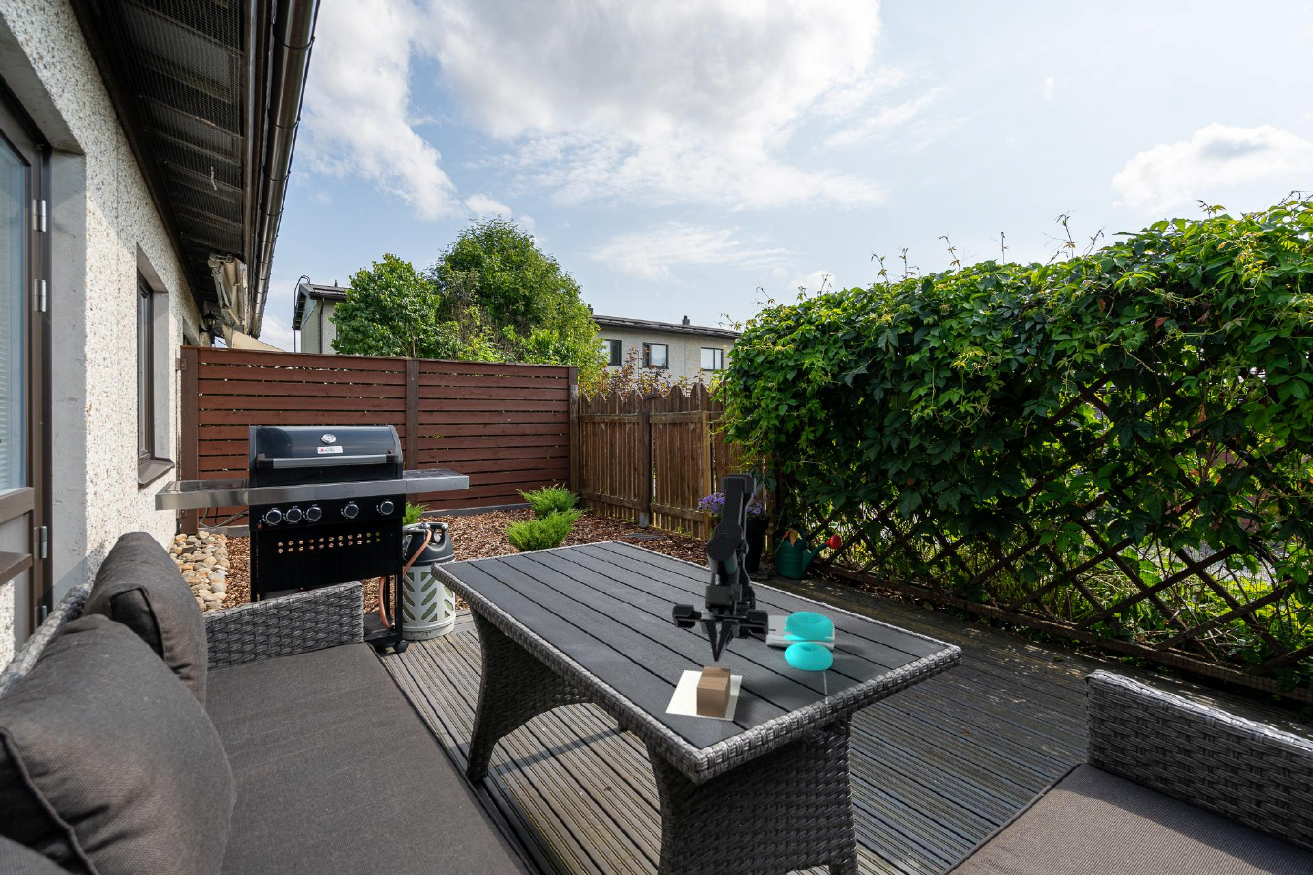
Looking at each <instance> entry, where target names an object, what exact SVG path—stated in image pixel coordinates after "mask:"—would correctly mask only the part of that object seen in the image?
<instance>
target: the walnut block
mask: <svg viewBox="0 0 1313 875" xmlns="http://www.w3.org/2000/svg"><path fill="white" fill-rule="evenodd" d="M731 670H732V669H731V668H727V667H726V668H725V667H717V666H716V667H715V666H707V665H706V666H703V669H702V671H701V672H702V674H701V677H700V679H699V682H698V685H697V691H696V715H702V716H710V717H719V718H725V714H726V710H727V706H728V702H729V698H730V676H731V675H732V673H731Z"/></svg>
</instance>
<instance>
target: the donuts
mask: <svg viewBox="0 0 1313 875" xmlns="http://www.w3.org/2000/svg"><path fill="white" fill-rule="evenodd" d="M787 616H788V617H787V619H786V622H785V625H786V628H787V629H788V631H789V632H790V633H791V634H793V635H795V636H797V637H800V638H803V639H810V640H816V639H822V638H825V637H827V636H829V635H830V634H831V633H832V631H833V623H834V622H833V621H832V620H831V619H830V618H829V617H827V616H826V615H824V614H821V613H817V612H811V611H799V612H794V613H791V614H790V615H787ZM832 622H833V623H832ZM784 657H785V660H786V662H787V663H788V664H789V666H792V667H794V668H796V669H799V670H804V671H810V672H811V671H812V672H813V671H815V672H816V671H825V670H827V669H829V668H830V667H831V666H832V665H833V662H834V658H833V654H832V653H831V651H830V649H827V648H825V647H824V646H822V645H819V644H816V643H811V642H799V643H795V644H793V645H791V646H789V647H788V648H787V647H786V650H785V653H784Z"/></svg>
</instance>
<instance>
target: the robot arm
mask: <svg viewBox="0 0 1313 875" xmlns="http://www.w3.org/2000/svg"><path fill="white" fill-rule="evenodd" d="M756 489H757V479H756V477H754V478H753V477H752V473H741V472H740V473H735V472H734V473H733V472H732V473H730V472H728V473H726V476H724V477H720V492H721V493H722V492H723V497H724V498H723V508H722V514H721V520H720V523H718V525H716V526H715V527H714V529H713V530H714V531H713V534H712V535H713V536H712V537H710V539H709V541H708V543H707V545H706V555H707V560H708V566H709V569H710V571H711V575H710V583H709V585H705V595H704V596H705V597H704V602H705V603H704V608H705V610H706V611H705V610H703V611H695V607H694V605H693V604H684V603H676V604H675V605H674V606H673V607H672V611H671V612H672V613H671V617H672V620H673V623H674V626H675V628H677V629H685V630H687V629H688V630H691V629H693V628H694V627H696V623H699V624H700V625H699V626H700V629H701V632H702V634H703V635H707V637H708V639H709V642H710V647H711V652H712V658H713V661H714V663H720V660H721V659H722V657H723V656H724V653H725V651H726V650H727V648H728V647H729V646H728V645H729V644H730V643H731V642H732V641H733V639H734V638H740V639H745V638H746V637H747V636H748V635H749V634H750V633H751V634H752V635H755V636H765V637H766V635H768V634H769V618H768V615H769V613H768V611H767V610H765V609H757V608H756V606H757V604H756V603H757V600H756V598H757V597H756V592H755V590H754V588H753V585H751V578H750V577H749V575H748V573H747V571H746V569H745V563H746V562H745V561H746V560H745V558H746V555H747V554H748V552H749V550H750V548H749V546H750V545H749V543H748V542H747V540H746V531H747V529H746V528H747V509H748V508H749V506H750V505H751V503H752V502H753V500H754V493H756V492H757V490H756ZM717 624H719V625H721V628H720V630H719V631H718V630H717ZM718 634H719V635H720V636H719V640H718Z"/></svg>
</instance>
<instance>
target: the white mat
mask: <svg viewBox="0 0 1313 875" xmlns="http://www.w3.org/2000/svg"><path fill="white" fill-rule="evenodd" d="M701 674H702V671H697V670H686V669H684V671H683V673H682V674H681V676H680V679H679V682H678V684H677V686H676V688H675V689H674V691H673V692H674V693H673V695H672V697H671V699H670V702H669V705H668V706H667V708H666V710H665V714H670V715H671V714H672V715H679V716H688V717H695V718H705V719H713V720H721V721H730V722H733V721H734V716H735V713H736V712H735V711H736V706H737V703H738V702H737V701H738V699H739V694H740V688H741V684H742V680H743V675H736V674H731V676H730V698H729V702H728V706H727V710H726V714H725V718H719V717H710V716H702V715H696V691H697V685H698V682H699V679H700V677H701Z"/></svg>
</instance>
